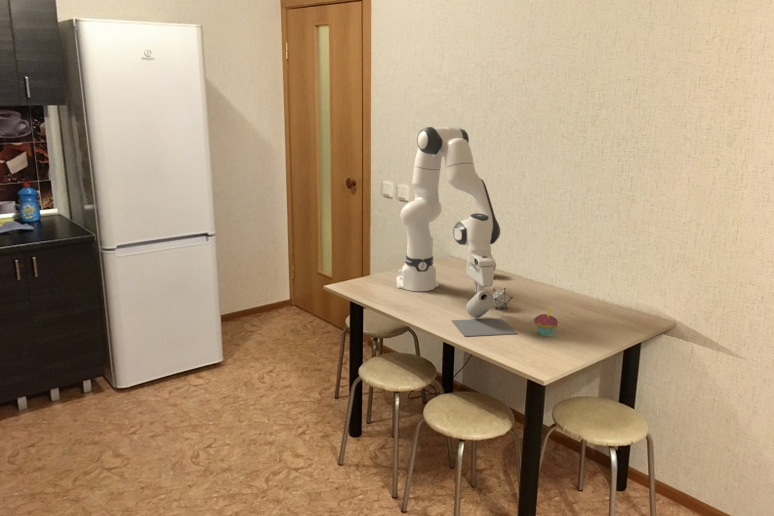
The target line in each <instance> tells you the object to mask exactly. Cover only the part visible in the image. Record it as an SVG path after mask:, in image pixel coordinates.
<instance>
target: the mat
mask: <svg viewBox="0 0 774 516" xmlns="http://www.w3.org/2000/svg"><path fill="white" fill-rule="evenodd" d="M450 321H451V323H452V324H453V325H454V326H455V327H456V329H458V331H459V332H460V333H461V334H462V335H463V336H464V337H466V338H467V337H468V338H469V337H484V336H485V337H486V336H487V337H488V336H504V335H505V336H507V335H509V336H510V335H518V334H519V333H518V332H517V331H516V330H515V329H514V328H513V327H512V326H511V325H510V324H509V323H508V322H507V321H506V320H505V319H503V318H502V317H495V318H494V317H493V318H476V319H474V318H473V319H472V318H471V319H452V320H450Z"/></svg>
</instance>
